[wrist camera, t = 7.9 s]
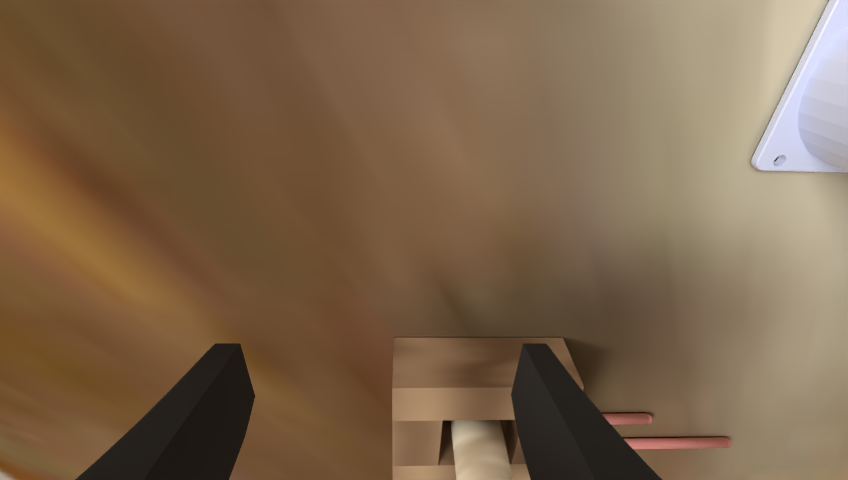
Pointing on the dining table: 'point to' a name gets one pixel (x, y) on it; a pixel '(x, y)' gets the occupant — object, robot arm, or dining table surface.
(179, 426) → the robot arm
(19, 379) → the dining table surface
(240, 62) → the dining table surface
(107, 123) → the dining table surface
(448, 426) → the wooden square frame
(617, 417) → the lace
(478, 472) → the tan round log
